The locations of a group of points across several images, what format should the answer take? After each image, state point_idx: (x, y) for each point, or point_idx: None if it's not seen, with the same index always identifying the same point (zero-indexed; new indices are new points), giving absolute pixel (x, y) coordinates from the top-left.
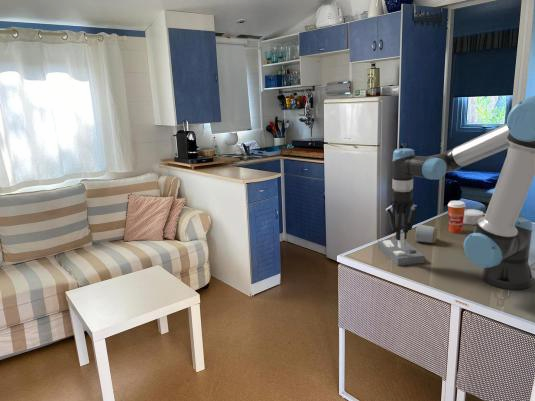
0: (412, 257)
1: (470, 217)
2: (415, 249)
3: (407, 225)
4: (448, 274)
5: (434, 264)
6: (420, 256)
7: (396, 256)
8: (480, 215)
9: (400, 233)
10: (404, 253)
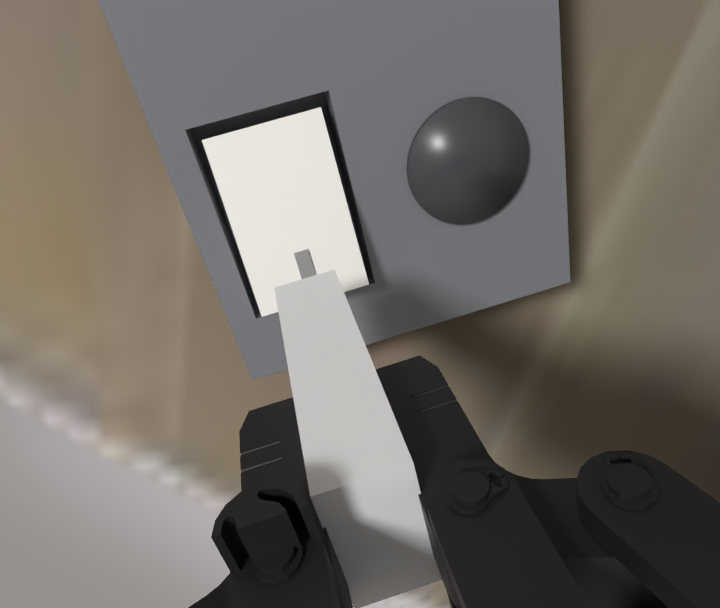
0: (427, 323)
1: None
2: (548, 73)
3: (650, 568)
4: (607, 445)
5: (599, 283)
6: (521, 293)
7: (243, 322)
8: None
9: (345, 578)
10: (355, 284)
